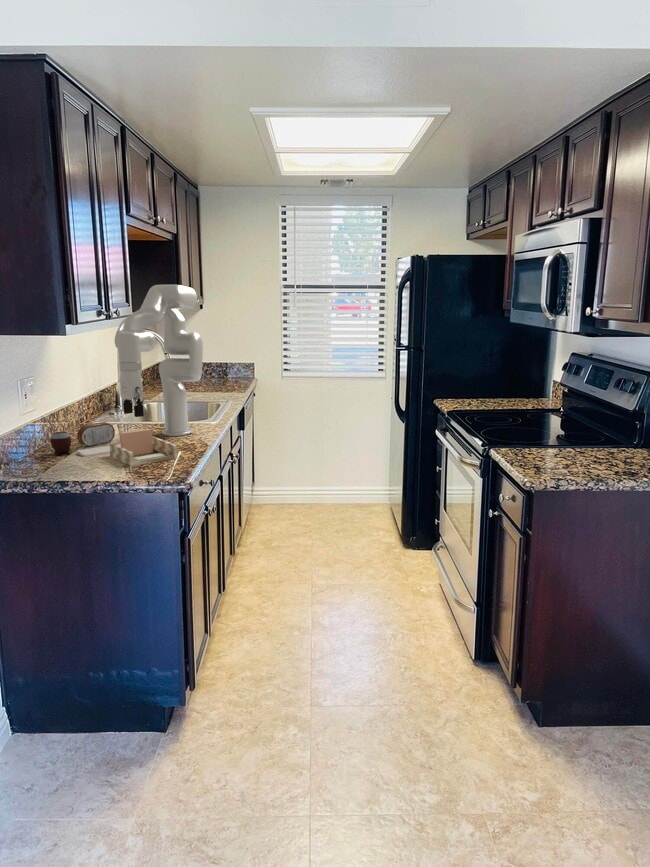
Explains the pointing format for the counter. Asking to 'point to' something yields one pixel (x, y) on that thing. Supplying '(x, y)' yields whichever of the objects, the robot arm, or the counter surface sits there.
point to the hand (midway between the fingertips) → (133, 414)
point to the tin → (95, 434)
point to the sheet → (137, 441)
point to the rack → (158, 445)
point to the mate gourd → (60, 441)
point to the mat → (95, 451)
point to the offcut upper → (148, 457)
